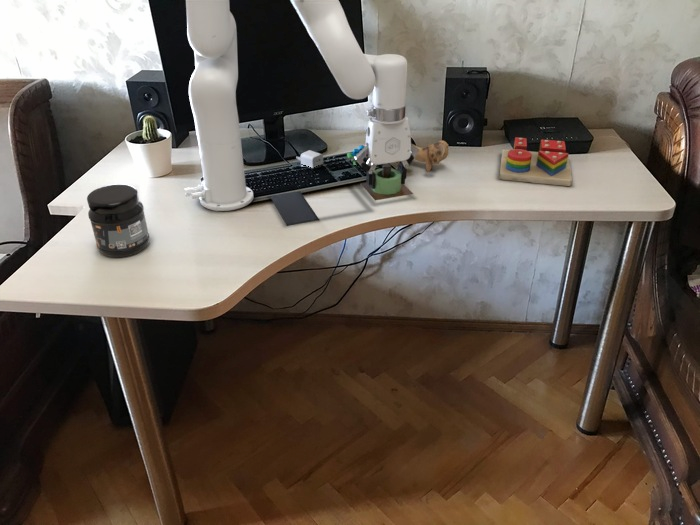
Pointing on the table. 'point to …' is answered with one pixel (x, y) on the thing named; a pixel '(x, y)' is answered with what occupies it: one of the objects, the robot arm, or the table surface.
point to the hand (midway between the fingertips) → (386, 183)
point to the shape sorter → (537, 163)
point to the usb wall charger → (311, 159)
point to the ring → (387, 182)
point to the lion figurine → (432, 154)
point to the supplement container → (118, 220)
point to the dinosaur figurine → (355, 152)
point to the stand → (385, 174)
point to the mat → (294, 208)
